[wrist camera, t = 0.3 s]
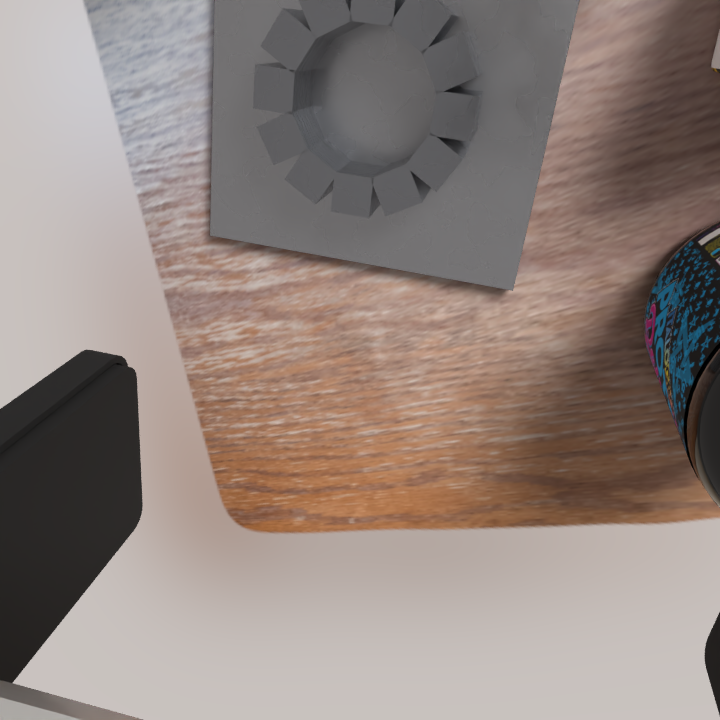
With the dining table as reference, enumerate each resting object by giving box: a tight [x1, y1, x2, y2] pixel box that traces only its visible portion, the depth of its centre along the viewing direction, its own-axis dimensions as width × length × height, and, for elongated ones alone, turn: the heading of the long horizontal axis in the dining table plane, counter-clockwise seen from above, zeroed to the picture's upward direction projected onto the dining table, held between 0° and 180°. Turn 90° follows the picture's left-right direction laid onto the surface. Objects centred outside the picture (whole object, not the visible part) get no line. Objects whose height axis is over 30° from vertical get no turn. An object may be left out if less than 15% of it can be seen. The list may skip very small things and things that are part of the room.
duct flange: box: [210, 0, 579, 291], centre depth 35 cm, size 18×18×4 cm
